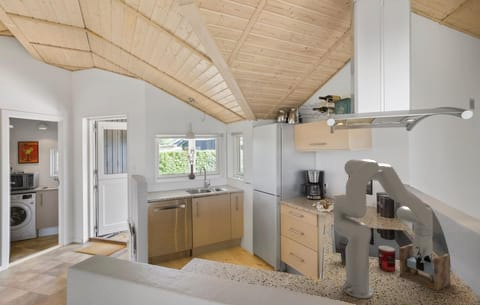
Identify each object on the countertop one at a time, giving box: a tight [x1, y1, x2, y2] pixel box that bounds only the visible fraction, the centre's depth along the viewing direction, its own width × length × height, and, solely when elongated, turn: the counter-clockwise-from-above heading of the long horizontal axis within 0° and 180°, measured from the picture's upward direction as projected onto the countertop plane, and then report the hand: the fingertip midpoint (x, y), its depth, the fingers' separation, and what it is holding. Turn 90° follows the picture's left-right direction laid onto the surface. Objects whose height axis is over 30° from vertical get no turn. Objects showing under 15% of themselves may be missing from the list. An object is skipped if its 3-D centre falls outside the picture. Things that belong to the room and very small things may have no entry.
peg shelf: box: [398, 243, 451, 292], centre depth 121 cm, size 12×16×14 cm
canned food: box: [377, 245, 396, 272], centre depth 133 cm, size 8×8×11 cm
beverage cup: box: [338, 236, 349, 266], centre depth 140 cm, size 7×7×20 cm
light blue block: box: [407, 257, 434, 276], centre depth 121 cm, size 12×6×4 cm, turn 28°
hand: (423, 268), depth 121 cm, fingers closed on light blue block, 6 cm apart
